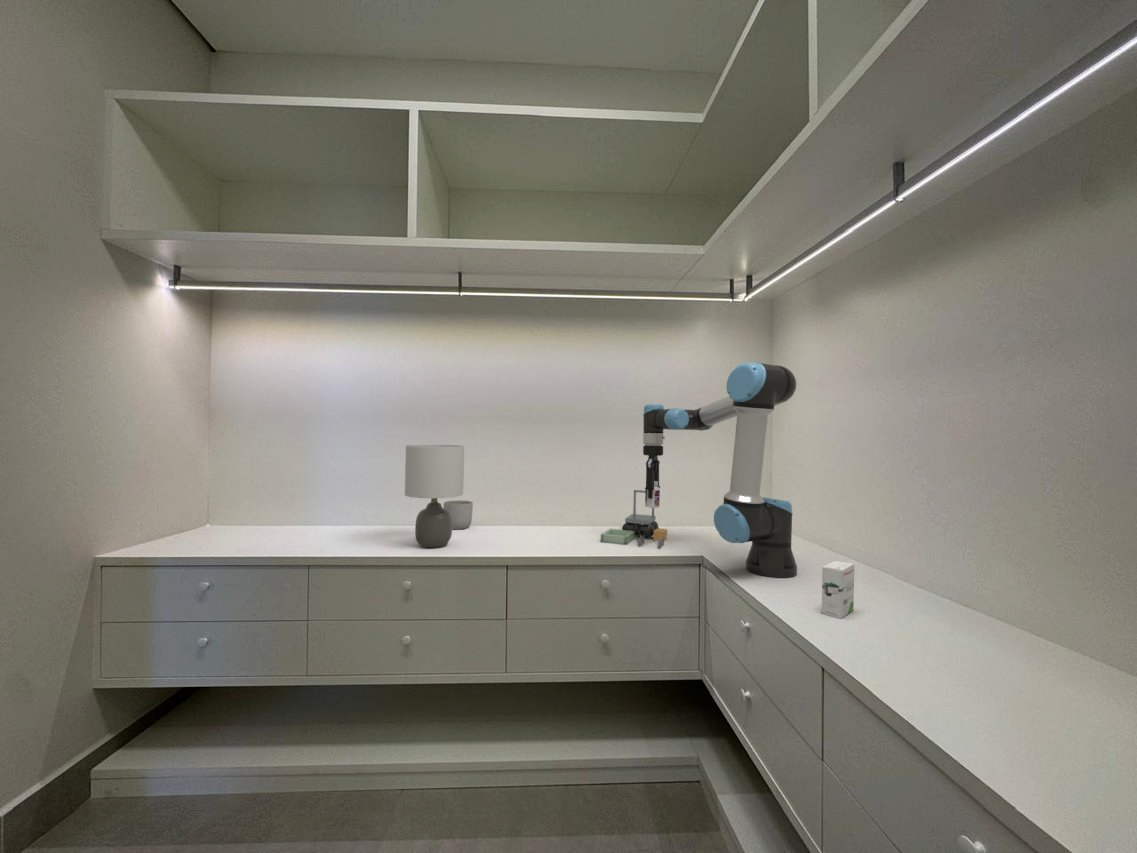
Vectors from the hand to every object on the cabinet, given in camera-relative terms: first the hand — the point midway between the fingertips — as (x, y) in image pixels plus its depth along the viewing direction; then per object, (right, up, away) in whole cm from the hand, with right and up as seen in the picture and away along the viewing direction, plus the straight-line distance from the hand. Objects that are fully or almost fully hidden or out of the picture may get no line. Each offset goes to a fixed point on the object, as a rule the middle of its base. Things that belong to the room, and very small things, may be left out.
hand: (652, 505), depth 190 cm
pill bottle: (0, -1, 0) cm, 1 cm away
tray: (-12, -15, +8) cm, 21 cm away
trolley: (-2, -15, +18) cm, 24 cm away
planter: (-80, -14, +26) cm, 85 cm away
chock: (+5, -15, +11) cm, 20 cm away
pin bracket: (0, -15, 0) cm, 15 cm away
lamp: (-82, -14, -7) cm, 83 cm away
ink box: (+35, -16, -66) cm, 77 cm away
